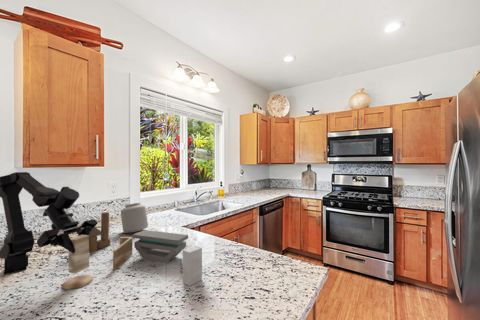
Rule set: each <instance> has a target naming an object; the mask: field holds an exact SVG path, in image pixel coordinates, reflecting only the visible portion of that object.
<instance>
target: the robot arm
mask: <svg viewBox="0 0 480 320" xmlns="http://www.w3.org/2000/svg"><path fill="white" fill-rule="evenodd" d="M22 190H24V191H26V192H27V193H28V194H30V195H31V196H32V202H33V203H34V204H35V205H36V206H37V207H39V208H42V207H46V208H45V209H44V211H43V213H42V217H48V218H49V219H50V221H51V225H50V227H51V229H48V230H45V231H43V232H42V234H41V235H40V236H39V237H38V238H37V240H36V245H37V246H38V248H43V247H48V246H49V245H50V246H51V247H52V246H54V247H56V246H60V247H62V248H63V249H65V250H67V251H70V252H72V253H74V252H75V248H74V246H73V243H72V241H71V239H70V238H71V237H70V235H71V234H75V233H76V235H77V236H79V235H89V232H90V231H92V229H93V228H94V227H96V226H97V225H98V221H97V220H96V218H95V219H94V218H92V219H89V220H85V221H84V222H82V224H81V225H79V224H80V222H79V221H78V220H77V221H75V220H74V218H73V217H74V213H73V212H71V213H70V212H69V211H68V210H69V209H70V208H72V206H73V205H74V203H76V201H77V200H78V199H79V198H80V192H79V191H77V190H76V189H73V188H70V187H69V186H62V187H61V189H60V190H58V189H56V188H52V187H48V186H45V185H44V184H42V183H41V182H40V181H38V180H37V179H36V178H34V177H33V176H32V175H31V173H30V172H27V171H14V172H12V173H10V174H6V175H2V176H0V198H1V199H2V205H3V209H4V216H5V222H6V227H7V235H6V236H5V238H4V239H3V246H2V247H1V248H0V259H1V260H2V259H3V260H4V267H3V268H4V269H3V275H8V274H14V273H17V272H21V271H26V270H27V268H28V267H29V254H28V253H31V252H32V251H33V248H34V245H35V238H34V235H33V234H34V233H33V231H32V230H31V229H30V230H29V229H27V228H26V226H25V221H24V216H23V211H22V207H21V200H20V193H21V192H22ZM89 246H90V240H89Z"/></svg>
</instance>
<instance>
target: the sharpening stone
mask: <svg viewBox="0 0 480 320" xmlns="http://www.w3.org/2000/svg"><path fill="white" fill-rule="evenodd" d="M132 238H133V239H138V240H135V241H133V242H134V244H133V245H134V249H135V250H136V251H137V253H138V254H139V255H140V257H141V258H142V259H143V261H147V262H153V263H158V262H159V263H158V264H164V263H165V264H167V263H168V262H170V261H171V260H173V259H174V258H176V257H177V256H178V255H179V254H180V253H181V252H183V250H185V249H186V247H187V242H186V240H188V239H189V235H188V234H181V233H174V232H167V231H165V232H164V231H157V230H147V229H143V230H140V231H137V232H135V233H133V234H132Z"/></svg>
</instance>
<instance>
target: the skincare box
mask: <svg viewBox="0 0 480 320" xmlns="http://www.w3.org/2000/svg"><path fill="white" fill-rule="evenodd" d="M202 280H203V249H202V247H199V246H197V245H193V246H191V247H188V248H184V249H183V250H182V283H183V284H185V285H187V286H188V287H191V286H192V285H195V284H196V283H198V282H200V281H202Z"/></svg>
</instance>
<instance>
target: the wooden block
mask: <svg viewBox="0 0 480 320" xmlns="http://www.w3.org/2000/svg"><path fill="white" fill-rule="evenodd" d="M100 217H101V218H100V223H101V224H100V230H99V228H98V227H96V226H95V227H94V228H93V229H92V231H90V232H89V240H90V246H89V253H92V252H93V253H94V252H95V251H97V250H101V249H103V248H106V247H109V246H110V245H111V238H109V235H110V212H109V211H102V212H101V216H100ZM98 236H100V239H98Z"/></svg>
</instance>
